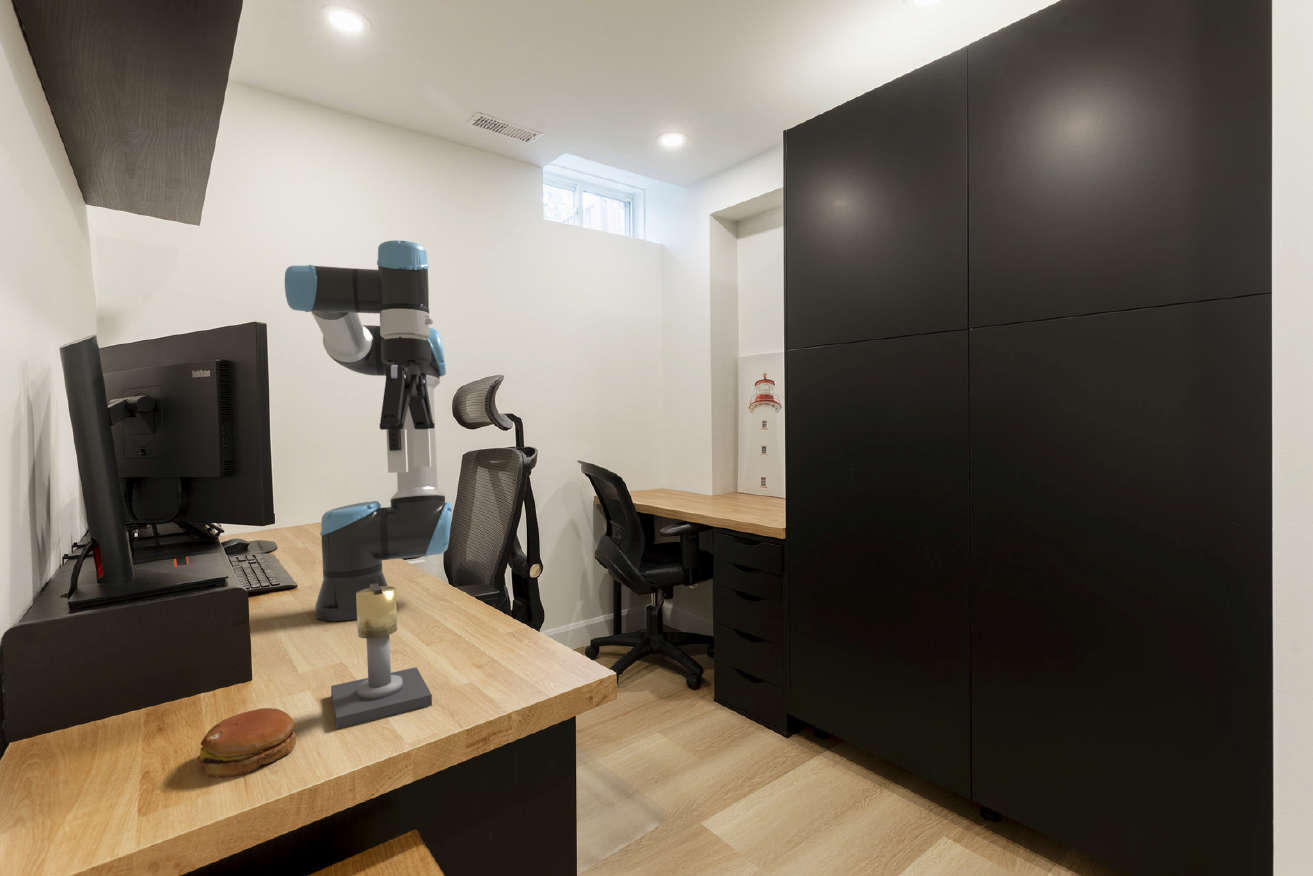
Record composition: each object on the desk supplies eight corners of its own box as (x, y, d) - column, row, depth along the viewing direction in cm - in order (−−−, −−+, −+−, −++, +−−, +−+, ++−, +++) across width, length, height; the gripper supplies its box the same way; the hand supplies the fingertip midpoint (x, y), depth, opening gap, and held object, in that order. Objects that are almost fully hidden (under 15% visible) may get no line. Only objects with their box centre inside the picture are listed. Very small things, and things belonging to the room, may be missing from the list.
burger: (313, 740, 78) (311, 703, 78) (251, 782, 69) (249, 742, 69) (247, 735, 80) (245, 699, 80) (179, 776, 71) (176, 736, 71)
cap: (355, 631, 89) (353, 586, 89) (393, 623, 92) (391, 580, 92) (360, 641, 84) (358, 594, 84) (400, 633, 87) (398, 587, 87)
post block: (331, 696, 90) (328, 629, 90) (416, 676, 97) (414, 614, 96) (336, 729, 80) (333, 654, 80) (432, 705, 86) (429, 635, 86)
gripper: (407, 326, 87) (412, 474, 88) (447, 348, 112) (451, 463, 113) (352, 327, 86) (358, 476, 87) (405, 349, 111) (409, 465, 112)
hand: (411, 469), depth 100 cm, fingers open, 13 cm apart
